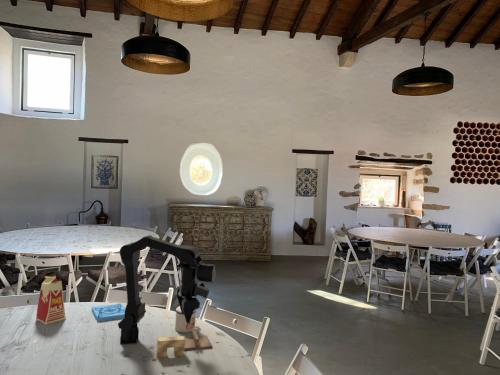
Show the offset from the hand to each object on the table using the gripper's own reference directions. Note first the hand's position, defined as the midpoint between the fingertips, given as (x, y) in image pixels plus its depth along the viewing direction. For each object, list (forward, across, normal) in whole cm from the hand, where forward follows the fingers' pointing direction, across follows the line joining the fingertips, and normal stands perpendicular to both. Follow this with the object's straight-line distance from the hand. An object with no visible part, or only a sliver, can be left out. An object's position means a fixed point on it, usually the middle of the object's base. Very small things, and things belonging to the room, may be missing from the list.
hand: (185, 318), depth 154 cm
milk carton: (+13, +40, +52) cm, 67 cm away
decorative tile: (+14, +42, +27) cm, 52 cm away
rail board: (+12, +4, -6) cm, 14 cm away
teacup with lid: (+13, +20, -5) cm, 24 cm away
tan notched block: (+12, -4, +6) cm, 14 cm away
